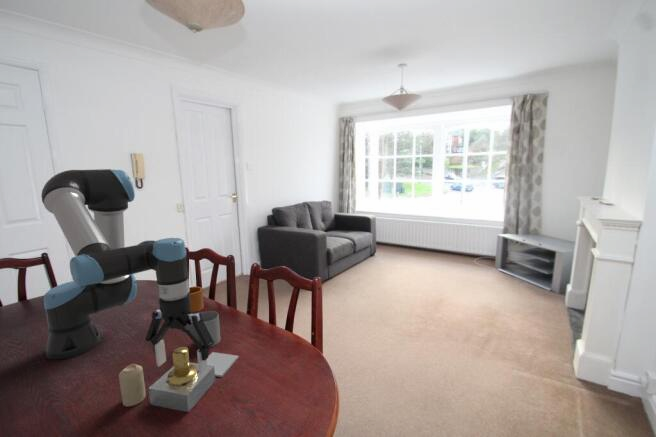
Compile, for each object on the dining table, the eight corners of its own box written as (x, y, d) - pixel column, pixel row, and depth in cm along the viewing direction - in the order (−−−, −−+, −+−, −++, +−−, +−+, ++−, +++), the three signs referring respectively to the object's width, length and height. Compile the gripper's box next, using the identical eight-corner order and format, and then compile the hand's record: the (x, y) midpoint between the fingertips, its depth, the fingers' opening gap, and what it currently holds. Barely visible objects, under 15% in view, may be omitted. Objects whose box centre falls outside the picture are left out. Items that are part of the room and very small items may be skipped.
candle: (129, 392, 87) (125, 361, 85) (149, 391, 87) (145, 360, 85) (118, 407, 81) (113, 374, 80) (139, 406, 82) (135, 372, 80)
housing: (150, 404, 82) (148, 388, 81) (181, 375, 94) (179, 360, 93) (188, 412, 79) (186, 395, 79) (215, 381, 91) (214, 366, 90)
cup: (211, 349, 107) (209, 323, 105) (191, 346, 109) (188, 321, 107) (224, 336, 115) (222, 312, 114) (205, 334, 117) (203, 310, 115)
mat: (193, 372, 95) (193, 370, 95) (212, 353, 104) (212, 352, 104) (222, 377, 93) (221, 375, 92) (238, 357, 102) (238, 355, 102)
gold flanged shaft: (163, 398, 84) (158, 357, 82) (182, 380, 91) (178, 341, 89) (186, 403, 82) (182, 361, 80) (204, 384, 89) (200, 344, 87)
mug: (191, 301, 146) (190, 283, 145) (207, 307, 140) (206, 288, 139) (174, 308, 139) (172, 290, 137) (190, 314, 133) (189, 295, 131)
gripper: (124, 297, 81) (134, 369, 84) (206, 305, 75) (213, 381, 79) (147, 286, 88) (155, 353, 91) (223, 293, 82) (229, 363, 86)
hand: (182, 366), depth 85 cm, fingers open, 13 cm apart
